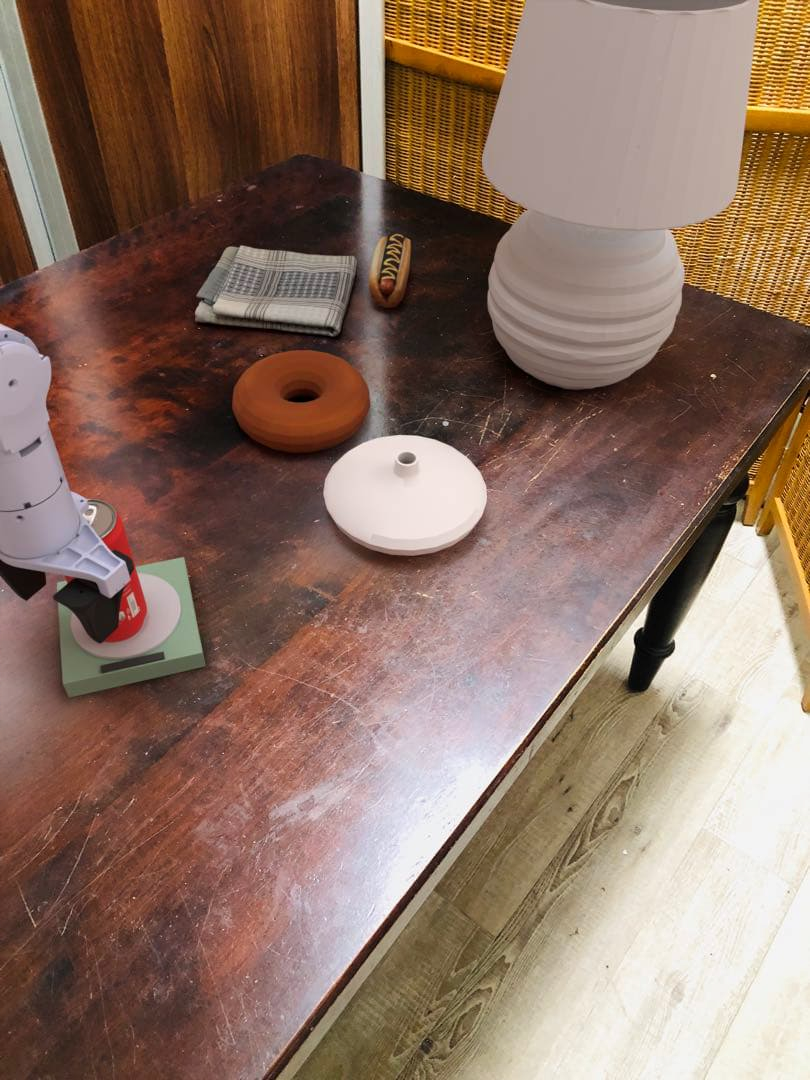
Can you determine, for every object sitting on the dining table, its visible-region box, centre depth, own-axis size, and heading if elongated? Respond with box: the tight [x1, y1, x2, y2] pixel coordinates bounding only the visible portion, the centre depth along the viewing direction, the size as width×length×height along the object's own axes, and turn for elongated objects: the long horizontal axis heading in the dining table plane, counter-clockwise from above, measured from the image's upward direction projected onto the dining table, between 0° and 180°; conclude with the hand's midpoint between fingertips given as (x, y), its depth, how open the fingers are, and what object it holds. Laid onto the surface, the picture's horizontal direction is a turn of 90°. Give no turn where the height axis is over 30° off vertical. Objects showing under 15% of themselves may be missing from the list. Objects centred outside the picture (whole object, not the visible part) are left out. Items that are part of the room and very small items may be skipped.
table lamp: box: [481, 0, 760, 391], centre depth 90 cm, size 25×25×40 cm
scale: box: [56, 556, 207, 698], centre depth 75 cm, size 11×11×2 cm
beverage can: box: [63, 498, 147, 643], centre depth 69 cm, size 5×5×12 cm
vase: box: [323, 434, 488, 557], centre depth 84 cm, size 16×16×7 cm
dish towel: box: [194, 245, 358, 337], centre depth 112 cm, size 19×18×3 cm
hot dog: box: [368, 231, 412, 309], centre depth 113 cm, size 5×13×5 cm, turn 175°
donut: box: [231, 349, 371, 454], centre depth 94 cm, size 15×15×5 cm
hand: (69, 611), depth 67 cm, fingers open, 7 cm apart
